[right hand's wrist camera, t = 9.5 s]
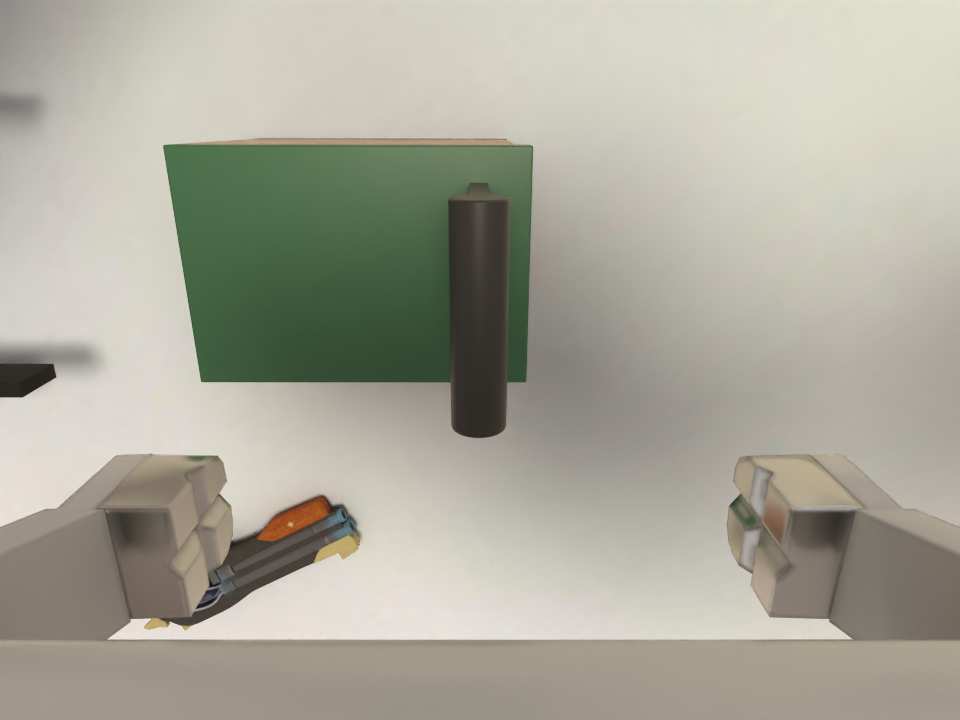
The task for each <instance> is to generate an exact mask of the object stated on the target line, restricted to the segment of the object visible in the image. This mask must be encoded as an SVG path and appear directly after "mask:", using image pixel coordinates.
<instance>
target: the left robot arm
mask: <svg viewBox="0 0 960 720" xmlns="http://www.w3.org/2000/svg"><path fill="white" fill-rule="evenodd" d="M54 378H56V374H55V370H54V366H53V364H0V397H24V396H26V395H27V394H29V393H31V392H32V391H34V390H36V389H37V388H39V387H41V386H42V385H44V384H46V383H47V382H49V381H51V380H52V379H54Z"/></svg>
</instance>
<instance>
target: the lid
mask: <svg viewBox="0 0 960 720" xmlns="http://www.w3.org/2000/svg"><path fill="white" fill-rule="evenodd" d="M163 148H164V154H165V160H166V166H167V173H168V179H169V185H170V191H171V197H172V204H173V210H174V216H175V222H176V228H177V235H178V241H179V247H180V253H181V259H182V266H183V272H184V278H185V284H186V290H187V297H188V303H189V309H190V315H191V321H192V328H193V334H194V340H195V346H196V352H197V358H198V365H199V371H200V377H201V382H451V424H452V428H453V429H454V431H455V432H457V433H458V434H460V435H463V436H467V437H473V438H485V437H491V436H495V435H497V434H499V433H501V432H502V431H503V430H504V429H505V427H506V405H507V382H526V372H527V338H528V303H529V269H530V234H531V200H532V165H533V146H531V145H372V144H172V145H164V146H163Z"/></svg>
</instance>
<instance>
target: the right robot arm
mask: <svg viewBox="0 0 960 720" xmlns="http://www.w3.org/2000/svg"><path fill="white" fill-rule="evenodd" d="M226 482H227V479H226V474H225V469H224V464H223V462H222V460H221V459H220V458H219V457H218V456H206V455H153V454H129V455H116V456H115V457H114V458H113V459H112V460H111V461H109V462H108V463H107V464H106V465H105V466H104V467H103V468H102V469H100V470H99V471H98V472H97V473H96V474H95V475H94V476H93V477H92V478H90V479H89V480H88V481H87V482H86V483H85V484H84V485H83V486H82V487H80V488H79V489H78V490H77V491H76V492H75V493H74V494H73V495H71V496H70V497H69V498H68V499H67V500H66V501H65V502H64V503H63V504H61V505H60V506H59V507H58V508H57V509H45V510H42V511H40V512H37V513H35V514H32V515H30V516H27V517H25V518H22V519H19V520H17V521H14V522H12V523H9V524H7V525H4V526H2V527H0V720H960V527H958V526H955V525H953V524H950V523H948V522H945V521H943V520H940V519H938V518H935V517H933V516H930V515H928V514H925V513H923V512H920V511H918V510H915V509H903V508H902V507H901V506H900V505H899V504H897V503H896V502H895V501H894V500H893V499H892V498H891V497H890V496H889V495H887V494H886V493H885V492H884V491H883V490H882V489H881V488H880V487H879V486H877V485H876V484H875V483H874V482H873V481H872V480H871V479H870V478H869V477H867V476H866V475H865V474H864V473H863V472H862V471H861V470H860V469H859V468H857V467H856V466H855V465H854V464H853V463H852V462H851V461H850V460H849V459H847V458H846V457H845V456H842V455H839V454H819V455H810V454H805V455H763V456H744V457H740V458H739V460H738V462H737V465H736V467H735V473H734V479H733V482H734V483H735V485H736V487H737V488H738V490H739V491H740V493H741V494H740V495H739V496H738V497H737V498H736V499H735V500H734V501H733V502H732V503H731V504H730V505H729V511H728V520H727V531H728V541H729V545H730V548H731V551H732V554H733V556H734V558H735V559H736V561H737V563H738V565H739V566H741V567H742V568H744V569H745V570H747V571H749V572H750V573H752V580H751V587H752V589H753V590H754V592H755V594H756V595H757V597H758V599H759V600H760V602H761V604H762V605H763V607H764V609H765V610H766V612H767V614H768V615H769V617H778V618H815V619H830V620H829V622H831V623H832V624H833V625H835V626H836V627H837V628H839V629H840V630H841V631H843V632H844V633H845V634H847V635H848V636H849V637H851V638H852V639H854V640H107V639H108V638H109V637H111V636H112V635H113V634H115V633H116V632H117V631H119V630H120V629H122V628H123V627H124V626H126V625H127V624H128V623H130V621H131V620H130V619H144V618H180V617H191V616H192V614H193V612H194V611H195V609H196V607H197V606H198V604H199V602H200V600H201V599H202V597H203V595H204V594H205V592H206V590H207V589H208V587H209V580H208V573H210V572H211V571H213V570H215V569H216V568H218V567H219V566H221V565H222V563H223V561H224V559H225V558H226V556H227V554H228V551H229V547H230V543H231V539H232V535H233V517H232V510H231V506H230V504H229V503H228V502H227V501H226V500H225V499H224V498H223V497H222V496H221V495H220V494H219V493H220V491H221V490H222V488H223V487H224V485H225V483H226Z"/></svg>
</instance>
